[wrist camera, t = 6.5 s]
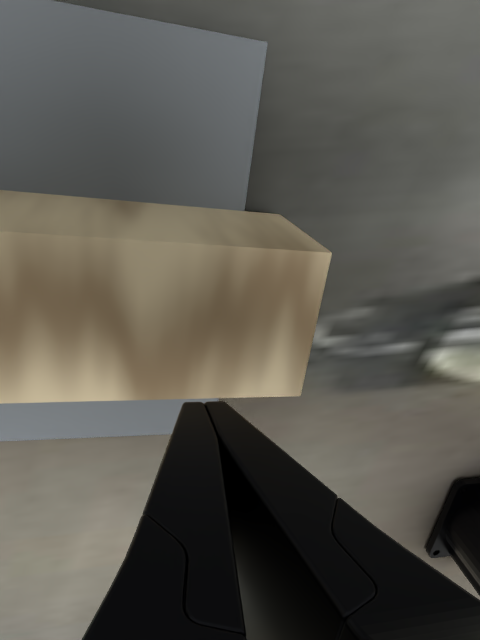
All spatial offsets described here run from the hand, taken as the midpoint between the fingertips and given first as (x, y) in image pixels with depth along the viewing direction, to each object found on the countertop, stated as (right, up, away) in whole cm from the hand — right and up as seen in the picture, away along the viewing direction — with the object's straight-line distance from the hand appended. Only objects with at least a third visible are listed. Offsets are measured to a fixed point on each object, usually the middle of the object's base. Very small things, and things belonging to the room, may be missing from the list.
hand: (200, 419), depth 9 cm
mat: (-5, +4, +8) cm, 10 cm away
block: (+3, +3, +7) cm, 8 cm away
